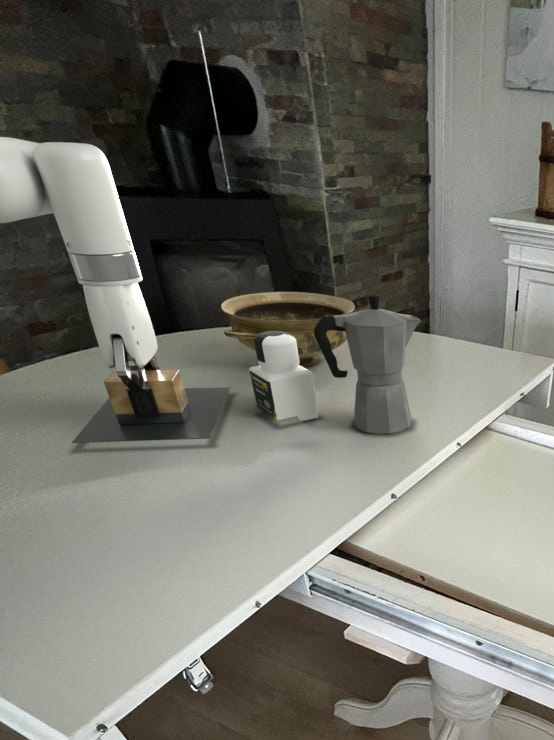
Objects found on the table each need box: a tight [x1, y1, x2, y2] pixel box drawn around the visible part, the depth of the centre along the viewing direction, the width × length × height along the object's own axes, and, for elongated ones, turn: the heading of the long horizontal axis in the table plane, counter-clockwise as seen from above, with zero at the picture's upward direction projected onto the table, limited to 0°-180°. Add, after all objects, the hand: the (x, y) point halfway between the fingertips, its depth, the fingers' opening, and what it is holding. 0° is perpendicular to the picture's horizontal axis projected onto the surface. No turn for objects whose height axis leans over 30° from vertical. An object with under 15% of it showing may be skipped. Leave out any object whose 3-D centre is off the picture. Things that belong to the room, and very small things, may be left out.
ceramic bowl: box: [220, 291, 356, 367], centre depth 113 cm, size 30×24×10 cm
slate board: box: [71, 386, 231, 444], centre depth 90 cm, size 18×22×1 cm
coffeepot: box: [314, 293, 422, 435], centre depth 87 cm, size 15×9×18 cm, turn 110°
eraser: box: [103, 369, 191, 424], centre depth 86 cm, size 9×5×6 cm, turn 100°
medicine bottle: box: [248, 331, 319, 422], centre depth 90 cm, size 7×7×12 cm
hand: (153, 409), depth 87 cm, fingers closed on eraser, 5 cm apart
